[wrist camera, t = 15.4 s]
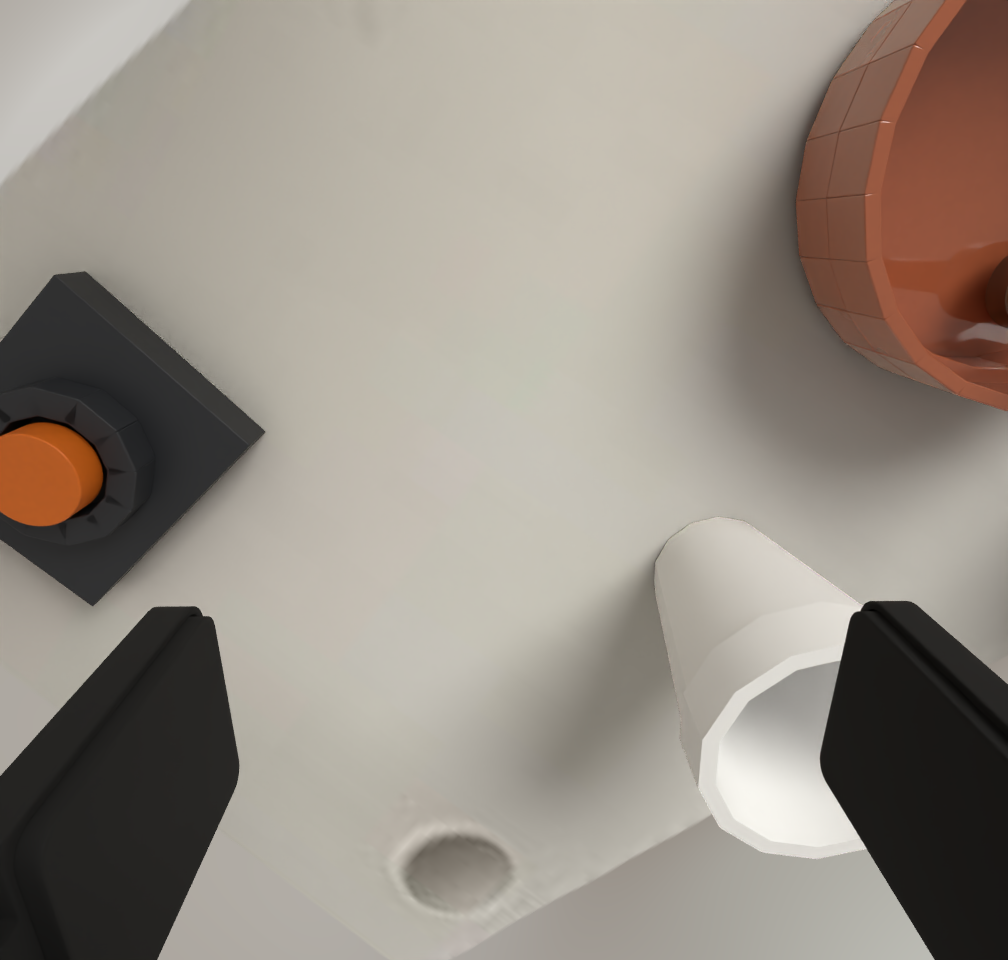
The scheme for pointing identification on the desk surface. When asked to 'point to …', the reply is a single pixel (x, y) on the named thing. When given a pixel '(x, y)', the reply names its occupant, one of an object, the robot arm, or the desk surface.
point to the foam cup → (755, 683)
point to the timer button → (46, 474)
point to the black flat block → (113, 429)
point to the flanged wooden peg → (998, 294)
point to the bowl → (914, 195)
